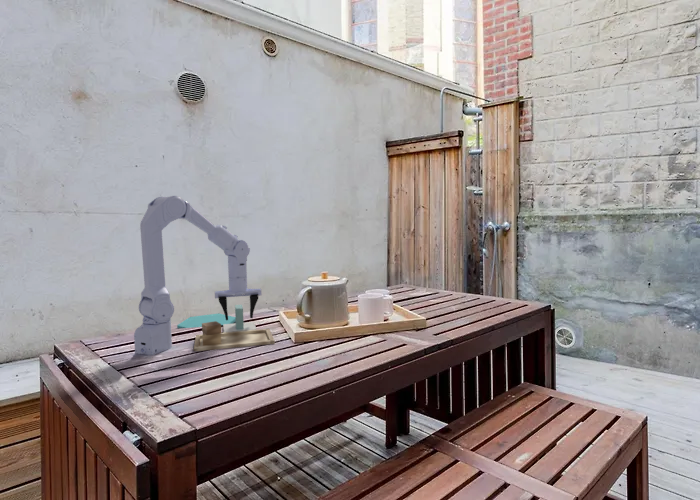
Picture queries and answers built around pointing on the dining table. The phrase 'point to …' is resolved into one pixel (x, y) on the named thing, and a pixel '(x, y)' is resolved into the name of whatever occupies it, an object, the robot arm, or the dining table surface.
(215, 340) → the offcut
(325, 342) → the dining table surface
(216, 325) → the offcut
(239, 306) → the panel
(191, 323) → the plaque
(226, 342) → the wooden tray
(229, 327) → the tile
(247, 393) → the dining table surface
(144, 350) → the robot arm
